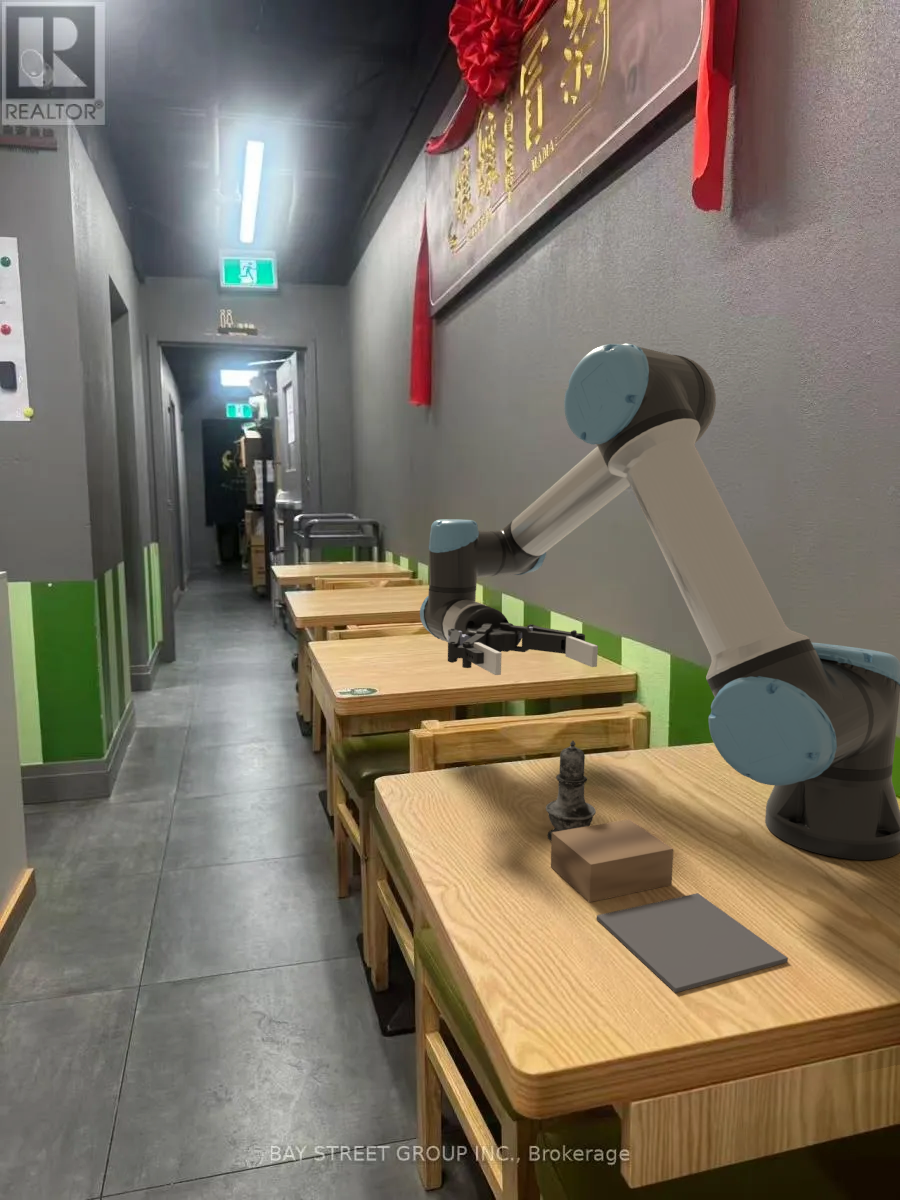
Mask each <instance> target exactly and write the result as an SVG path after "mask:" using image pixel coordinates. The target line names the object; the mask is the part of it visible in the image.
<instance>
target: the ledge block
mask: <svg viewBox="0 0 900 1200" xmlns="http://www.w3.org/2000/svg"><path fill="white" fill-rule="evenodd" d="M550 842H551V847H550V849H551V851H550V868H551V869H553V870H554V871H555V873H557V874H558V875H559V876H560V877H561V878H562V879H564V880H565V881H566V882H567V883H568V884H569V885H570V886H571V887H572V888H574V890H576V892H577V893H579V895H581V897H583V898H584V899H585V900H586V901H587V902H589V903H593V902H596V901H601V900H602V901H603V900H606V899H607V900H608V899H611V898H617V897H620V896H626V895H629V894H630V895H631V894H635V893H639V892H644V891H649V890H654V889H657V888H663V887H668V886H671V885H672V884H673V882H672V881H673V868H674V867H673V865H674V848H673V847H672V846H670V845H669V844H668V843H665V842H664V841H662V839H660V838H659V837H657V836H655V835H654V834H652V833H651V832H649V831H648V830H647V829H645V828H644V827H642V826H640V825H639V824H637V823H636V822H634V821H633V820H631V819H630V818H628V819H622V820H616V821H609V822H604V823H597V824H592V825H590V826H586V827H580V828H574V829H568V830H562V831H557V832H552V841H550Z"/></svg>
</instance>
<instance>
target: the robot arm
mask: <svg viewBox="0 0 900 1200" xmlns="http://www.w3.org/2000/svg"><path fill="white" fill-rule="evenodd" d="M716 394H717V393H716V390H715V385H714V383H713V380H712V378H711V376H710V375H709V373H708V372H707V370H705V368H703V367H702V366H701V365H700V364H699V363H697V362H696V361H695V360H693V359H690V358H688V357H685V356H683V355H677V354H670V353H667V352H662V351H659V350H658V351H657V350H653V349H650V348H649V349H648V348H645V347H640V346H638V345H635V344H632V343H623V344H621V343H608V344H607V343H606V344H603V345H600V346H598V347H596V348H593V349H592V350H591V351H589V352H588V353H587V354H586V355H584V357H583V358H582V359H581V360H580V361H579V362H578V363H577V365H576V366H575V367H574V370H573V371H572V373H571V375H570V377H569V379H568V387H567V389H566V390H565V394H564V399H563V401H564V405H563V406H564V409H563V410H564V416H565V419H566V423H567V425H568V428H569V429H570V431H571V432H572V433H573V434H574V435H575V436H576V437H577V438H578V439H580V440H581V441H583V442H584V443H587V444H589V445H596V447H594V449H592V450H591V451H590V452H589V453H588V454H587V455H586V456H584V457H583V458H582V459H581V460H580V461H579V462H578V463H577V464H576V465H574V466H573V467H572V468H571V469H570V470H569V471H567V472H566V473H565V474H564V475H563V476H562V477H560V478H559V479H558V480H557V481H556V482H555V483H554V484H552V485H551V487H549V488H548V489H547V490H545V492H543V493H542V494H541V495H540V496H538V498H537V499H535V501H533V502H532V503H531V504H530V505H529V506H527V507H526V509H524V510H523V511H522V512H521V513H519V514H518V515H517V516H516V517H515V518H514V519H513V520H511V521H510V522H508V524H506V525H505V526H504V527H503V528H501V529H500V530H499V529H498V530H479V528H478V523H477V522H476V521H475V520H473V519H456V518H455V519H451V518H447V519H446V518H444V519H437V520H434V521H433V522H432V524H431V527H430V533H429V543H428V551H429V561H428V562H429V584H428V585H429V586H428V594H427V596H426V598H425V599H424V600H423V602H422V603H421V606H420V610H419V617H420V618H419V619H420V622H421V624H422V626H423V627H424V629H425V630H426V631H428V632H429V633H430V634H431V635H432V636H433V637H434V638H437V640H441V641H444V642H446V643H447V662H449V663H452V664H453V663H456V662H458V659H461V660H462V664H461V666H462V668H463V669H471V668H472V664H474V665H476V666H477V667H480V668H481V669H483V670H485V671H487V672H488V673H490V674H492V675H494V676H500V675H502V652H505V653H507V652H510V651H511V652H520V653H525V652H529V650H531V651H538V652H547V653H554V654H556V653H557V654H564V655H565V656H564V657H566V658H569V659H571V660H574V661H576V662H578V663H580V664H583V665H586V666H588V667H590V668H597V667H598V655H599V654H598V653H599V652H598V651H599V649H598V648H599V646H598V645H596V644H594V643H591V642H588V641H586V635H585V633H584V634H583V633H578V632H577V630H576V629H573V630H571V631H565V630H561V629H555V628H548V627H543V626H538V625H535V624H531V623H530V624H528V625H527V626H521V625H514V624H513V623H511V622H509V620H508V619H507V617H506V616H505V614H504V613H503V612H501V611H500V610H499V609H496V608H494V607H492V606H488V605H486V604H483V603H481V602H478V601H476V597H477V595H476V594H477V592H476V591H477V581H478V578H485V577H497V576H498V577H499V576H512V575H514V576H521V575H525V574H527V573H533V572H535V571H537V570H539V569H540V568H541V567H542V566H543V563H544V561H545V559H546V557H547V552H548V551H549V550H550V549H551V548H553V547H554V546H555V545H557V543H559V542H560V541H561V540H563V539H564V538H565V537H566V536H568V535H569V534H571V533H572V532H573V531H575V529H577V528H578V527H580V526H581V525H582V524H583V523H585V522H586V521H587V520H589V519H590V518H591V517H593V515H595V514H596V513H598V512H599V511H600V510H601V509H602V508H604V507H605V506H606V505H607V504H609V503H610V502H612V501H613V500H614V499H615V498H617V497H618V496H619V495H620V494H622V493H624V491H625V490H627V489H628V488H631V490H632V493H633V495H634V497H635V498H636V501H637V503H638V505H639V507H640V509H641V511H642V513H643V515H644V517H645V519H646V522H647V524H648V526H649V528H650V530H651V532H652V534H653V536H654V539H655V541H656V543H657V545H658V547H659V549H660V551H661V553H662V556H663V558H664V559H665V560H664V561H665V562H666V564H667V566H668V568H669V570H670V573H671V574H672V576H673V579H674V581H675V583H676V585H677V587H678V589H679V592H680V594H681V596H682V598H683V600H684V602H685V605H686V606H687V608H688V610H689V612H690V615H691V617H692V619H693V621H694V623H695V626H696V628H697V630H698V632H699V633H700V636H701V638H702V641H703V642H704V645H705V646H706V648H707V650H708V653H709V655H710V659H711V663H710V666H709V668H708V671H707V674H706V677H705V678H706V681H707V684H708V686H709V688H710V690H711V692H712V695H713V696H714V698H713V700H712V702H711V705H710V709H711V712H710V714H709V715H708V729H709V733H710V737H711V739H712V742H713V744H714V746H715V748H716V750H717V751H718V753H719V754H720V756H721V757H722V758H723V760H724V761H725V762H726V763H727V764H728V765H729V766H730V767H731V768H732V769H734V771H736V772H737V773H739V774H741V775H742V776H744V777H746V778H748V779H751V780H753V781H755V782H756V783H760V784H764V785H767V786H773V788H772V790H771V793H770V795H769V797H768V799H767V801H766V806H765V815H764V816H765V817H764V818H765V819H764V823H765V826H766V827H767V829H768V830H769V831H770V832H771V833H772V834H774V835H775V836H776V837H777V838H779V839H781V840H782V841H784V842H786V843H788V844H790V845H793V846H794V847H797V848H800V849H803V850H806V851H808V852H812V853H815V854H819V855H824V856H828V857H833V858H838V859H840V858H841V859H847V860H859V861H860V860H863V861H867V860H869V861H871V860H872V861H873V860H881V859H887V858H890V857H893V856H895V855H898V854H899V853H900V807H899V802H898V799H897V795H896V791H895V789H894V788H895V787H894V784H893V768H894V767H893V765H894V755H895V748H896V747H895V745H896V734H897V725H898V716H899V715H898V713H899V705H900V704H899V703H900V659H899V658H898V657H897V656H896V655H894V654H891V653H888V652H884V651H878V650H874V649H869V648H862V647H853V646H846V645H839V644H838V645H837V644H831V643H821V642H820V643H819V642H812V640H811V639H810V637H809V636H808V635H805V634H803V633H800V632H797V631H794V630H792V629H790V628H789V627H788V626H787V625H786V623H785V621H784V620H783V617H782V615H781V614H780V611H779V609H778V607H777V605H776V604H775V602H774V599H773V598H772V595H771V594H770V592H769V589H768V588H767V586H766V584H765V582H764V580H763V578H762V576H761V574H760V571H759V570H758V568H757V566H756V564H755V561H754V560H753V558H752V556H751V554H750V552H749V550H748V548H747V546H746V544H745V543H744V540H743V538H742V537H741V534H740V532H739V530H738V529H737V526H736V525H735V522H734V520H733V519H732V517H731V515H730V512H729V511H728V508H727V506H726V504H725V502H724V501H723V498H722V496H721V495H720V492H719V491H718V489H717V487H716V484H715V482H714V481H713V479H712V477H711V475H710V473H709V471H708V469H707V466H706V465H705V463H704V461H703V459H702V457H701V454H700V453H699V451H698V449H697V448H696V445H695V444H696V443H697V442H698V441H699V440H700V439H701V438H702V437H703V435H704V434H705V433H706V431H707V430H708V428H709V427H710V424H711V422H712V420H713V418H714V415H715V411H716V404H717V400H716V399H717V397H716V396H717V395H716ZM520 643H521V645H520V646H518V645H519V644H520Z"/></svg>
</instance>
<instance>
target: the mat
mask: <svg viewBox="0 0 900 1200" xmlns="http://www.w3.org/2000/svg"><path fill="white" fill-rule="evenodd" d="M596 921H598V922H599V923H600V924H601V925H602V926H603V927H604V928H605V929H606V930H607V931H608V932H609V933H610V934H612V935H613V936H614V938H616V939H617V940H618V942H619V941H620V943H621V944H623V945H624V947H626V949H628V950H629V951H630V952H631V953H632V954H633V955H634V956H635V957H636V958H637V959H638V960H640V961H641V962H642V963H643V964H644V965H645V967H647V968H648V969H649V970H651V971H652V973H653V974H654V975H656V977H658V978H659V979H660V980H661V981H662V982H663V983H664V984H665V985H666V986H667V987H669V989H670V990H672V991H673V992H674V993H680V992H684V991H687V990H691V989H694V988H698V987H702V986H705V985H708V984H712V983H716V982H720V981H724V980H727V979H730V978H735V977H738V976H741V975H745V974H749V973H752V972H753V973H754V972H757V971H759V970H760V971H761V970H764V969H767V968H771V967H774V966H778V965H782V964H785V963H788V961H789V958H788V957H787V956H786V955H784V954H783V953H782V952H780V951H779V950H778V949H776V948H775V947H774V946H772V945H771V944H769V943H768V942H766V941H765V940H764V939H762V937H759V935H757V934H755V933H754V932H753V931H751V930H750V929H748V928H747V927H745V926H744V925H743V924H742V923H740V922H739V921H738V920H736V919H734V918H733V917H732V916H731V915H729V914H728V913H726V912H725V911H723V910H722V909H721V908H719V907H718V906H717V905H715V904H713V902H711V901H709V900H708V899H707V898H705V897H704V896H702V894H700V893H699V892H696V893H692V894H686V895H683V896H679V897H674V898H670V899H665V900H662V901H661V900H660V901H657V902H652V903H647V904H641V905H638V906H633V907H629V908H624V909H620V910H615V911H611V912H606V913H601V914H597V915H596Z"/></svg>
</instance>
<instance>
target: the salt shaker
mask: <svg viewBox="0 0 900 1200" xmlns="http://www.w3.org/2000/svg"><path fill="white" fill-rule="evenodd" d="M569 744H570V746H568V747H565V748H564V749H562V750H561V751H560V755H559V773H558V774H557V775H556V780H557V782H558V788H557V789H558V791H557V792H558V793H557V797H556V799H555V800H552V801H550V802H549V803H547V804H546V806H545V811H546V812H547V815H548V819H549V821H550V824H551V825H552V826H553V827H554V828H552V829H550V830H549V831H548V832H547V835H546V836H547V839H548V840H549V841H550V842H551V841H552V832H557V831H562V830H568V829H574V828H580V827H586V826H591V824H592V822H593V819H594V816H595V815H596V812H597V811H596V808H595V807H594V806H593V805H592V804H590V803H588V802H586V798H585V784H586V783H587V781H588V778H587V776H585V765H586V764H585V762H586V758H585V757H586V756H585V753H584V751H583V750H582V749H580V748H578V747H576V742H575V741H574V740H572V741H571V742H569Z"/></svg>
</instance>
